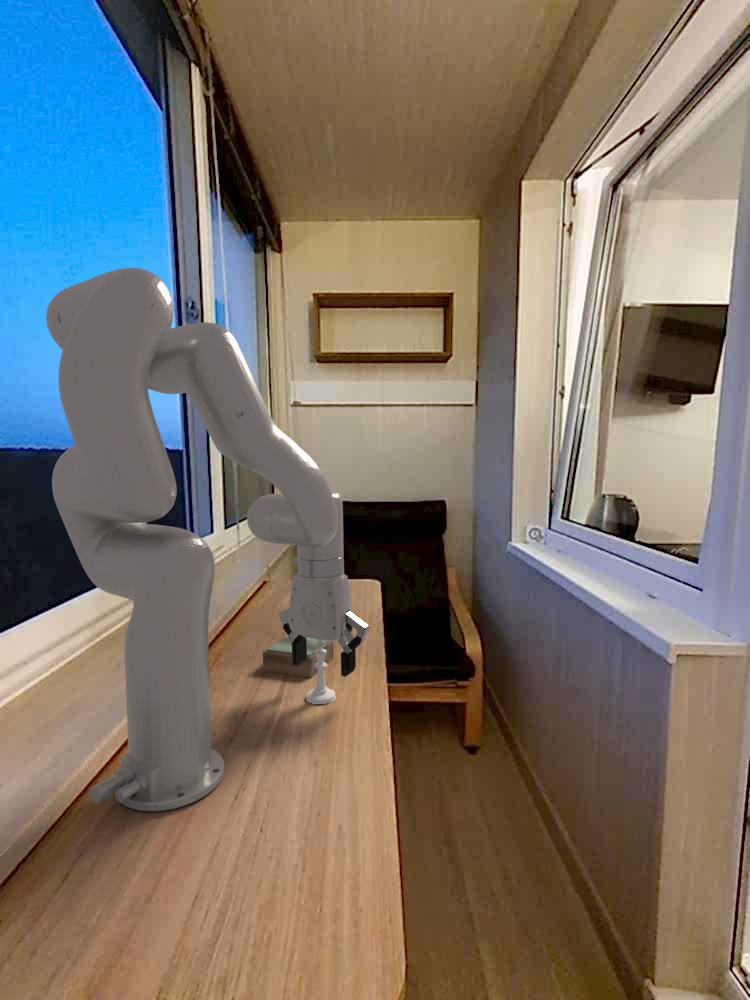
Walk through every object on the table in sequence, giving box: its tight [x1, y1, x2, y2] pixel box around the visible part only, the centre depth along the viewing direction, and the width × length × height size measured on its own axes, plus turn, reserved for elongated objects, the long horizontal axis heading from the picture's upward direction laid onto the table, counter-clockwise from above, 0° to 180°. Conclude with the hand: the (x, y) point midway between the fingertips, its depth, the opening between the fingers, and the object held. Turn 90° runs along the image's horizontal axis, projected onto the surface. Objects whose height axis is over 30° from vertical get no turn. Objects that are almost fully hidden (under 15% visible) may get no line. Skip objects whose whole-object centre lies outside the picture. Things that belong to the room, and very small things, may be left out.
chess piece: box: [305, 639, 337, 705], centre depth 90 cm, size 5×5×10 cm
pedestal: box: [262, 635, 335, 678], centre depth 105 cm, size 10×10×4 cm
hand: (323, 667), depth 90 cm, fingers open, 9 cm apart
